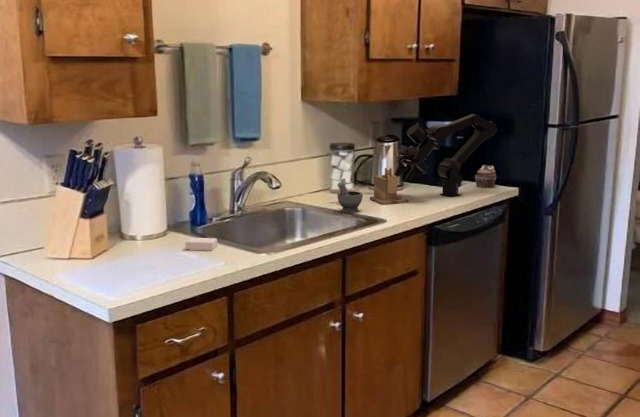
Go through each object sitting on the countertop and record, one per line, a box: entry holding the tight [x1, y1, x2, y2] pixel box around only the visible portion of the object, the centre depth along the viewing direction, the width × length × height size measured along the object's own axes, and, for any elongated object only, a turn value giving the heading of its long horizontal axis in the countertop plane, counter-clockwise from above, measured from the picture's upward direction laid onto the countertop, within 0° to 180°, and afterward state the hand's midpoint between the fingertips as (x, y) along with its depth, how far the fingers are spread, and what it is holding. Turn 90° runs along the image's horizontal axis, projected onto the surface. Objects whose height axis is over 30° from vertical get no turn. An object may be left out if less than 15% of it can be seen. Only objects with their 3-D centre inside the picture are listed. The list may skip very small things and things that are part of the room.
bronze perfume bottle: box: [381, 167, 398, 196], centre depth 276 cm, size 4×6×12 cm
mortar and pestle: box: [337, 181, 364, 213], centre depth 258 cm, size 11×9×12 cm
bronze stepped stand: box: [369, 175, 410, 206], centre depth 276 cm, size 12×12×10 cm
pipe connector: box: [330, 177, 357, 194], centre depth 274 cm, size 10×10×10 cm
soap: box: [184, 237, 218, 251], centre depth 209 cm, size 9×6×3 cm, turn 82°
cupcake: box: [474, 164, 497, 189], centre depth 307 cm, size 10×10×10 cm
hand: (399, 179), depth 277 cm, fingers open, 9 cm apart
